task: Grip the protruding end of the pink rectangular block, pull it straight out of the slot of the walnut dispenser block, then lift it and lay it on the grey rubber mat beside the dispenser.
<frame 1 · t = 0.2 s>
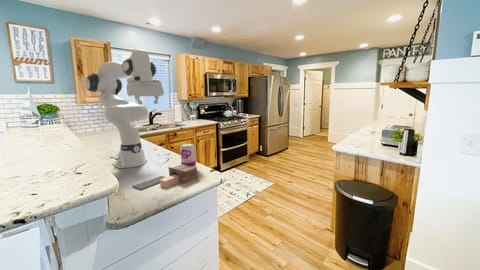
hand: (148, 104, 121), 39 cm above the table, tool pointing down, fingers open, 8 cm apart
pink rectangular block: (175, 182, 108), on the table
mat: (151, 183, 107), on the table
dispenser: (182, 178, 112), on the table
supplement can: (189, 170, 126), on the table
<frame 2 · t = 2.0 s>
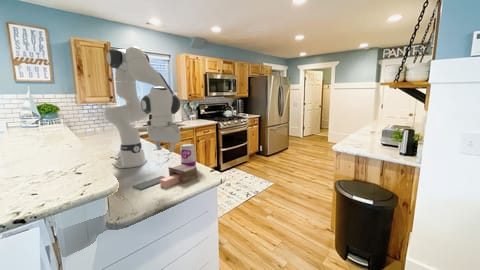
hand: (165, 150, 102), 17 cm above the table, tool pointing down, fingers open, 8 cm apart
nothing on the table moved.
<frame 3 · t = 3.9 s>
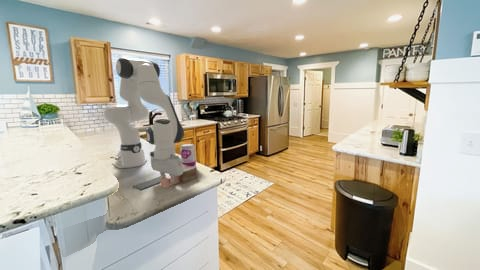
hand: (168, 181, 104), 2 cm above the table, tool pointing down, fingers closed on pink rectangular block, 4 cm apart
pink rectangular block: (175, 182, 108), on the table, touching gripper
everything else where it was.
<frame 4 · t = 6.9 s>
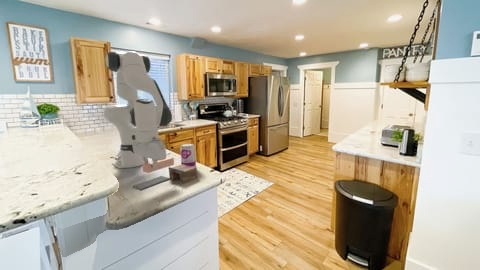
hand: (150, 166, 97), 11 cm above the table, tool pointing down, fingers closed on pink rectangular block, 4 cm apart
pink rectangular block: (159, 167, 100), point 9 cm above the table, touching gripper
everything else where it was.
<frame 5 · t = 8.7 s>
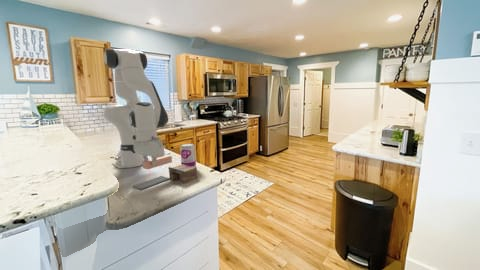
hand: (150, 164, 105), 10 cm above the table, tool pointing down, fingers closed on pink rectangular block, 4 cm apart
pink rectangular block: (158, 165, 109), point 8 cm above the table, touching gripper
everything else where it was.
when the fingers open (3 cm above the table, at t = 10.0 s): pink rectangular block stays where it is, resting on mat.
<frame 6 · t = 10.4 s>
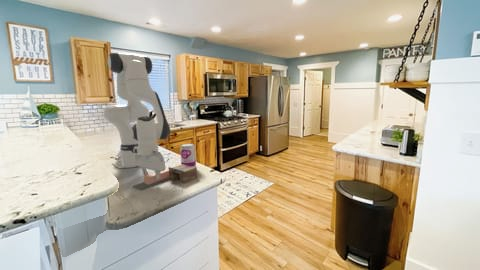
hand: (151, 177, 107), 3 cm above the table, tool pointing down, fingers open, 8 cm apart
pink rectangular block: (158, 179, 111), point 1 cm above the table, touching mat
everything else where it was.
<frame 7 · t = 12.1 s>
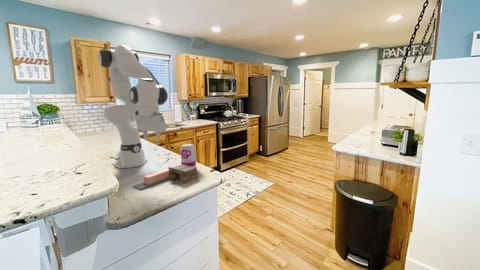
hand: (151, 139, 108), 21 cm above the table, tool pointing down, fingers open, 8 cm apart
nothing on the table moved.
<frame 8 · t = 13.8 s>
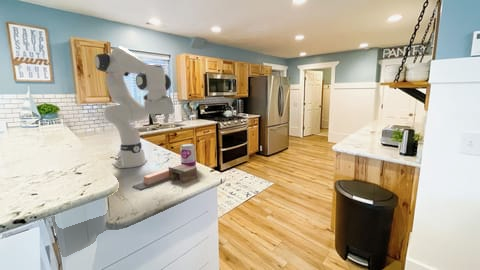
hand: (160, 122, 114), 29 cm above the table, tool pointing down, fingers open, 8 cm apart
nothing on the table moved.
at the end: pink rectangular block inside the target area (4.1 cm from its centre), point 0.6 cm above the table; pink rectangular block touching mat; the gripper is holding nothing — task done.
